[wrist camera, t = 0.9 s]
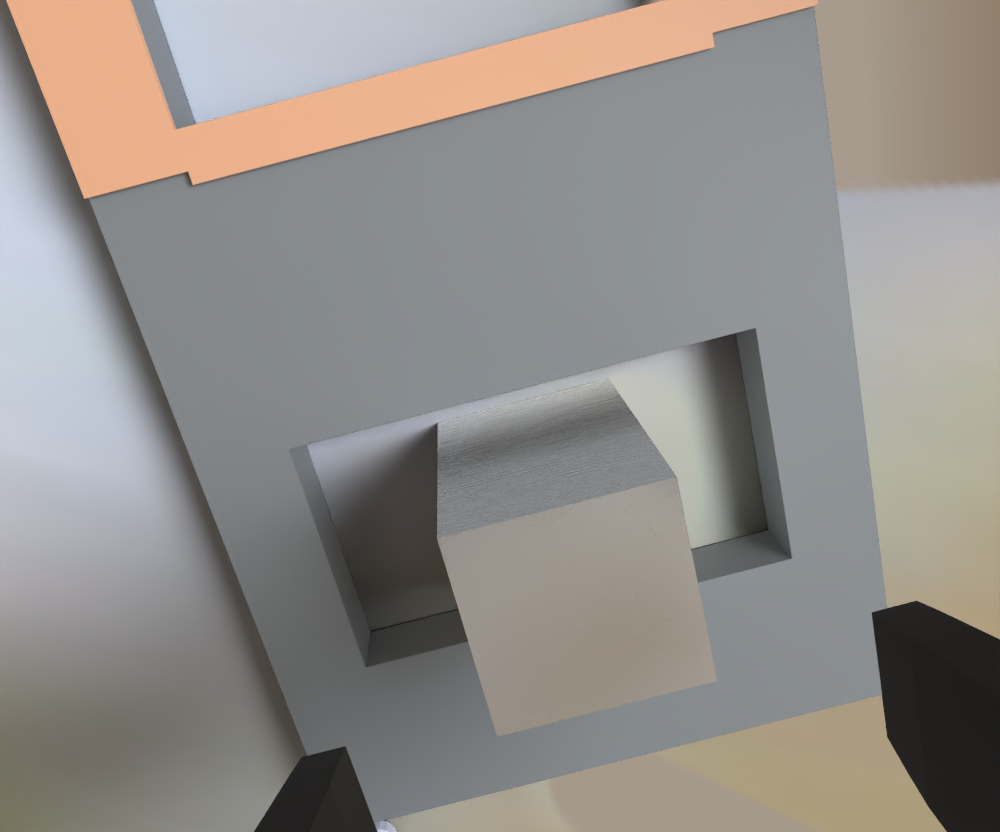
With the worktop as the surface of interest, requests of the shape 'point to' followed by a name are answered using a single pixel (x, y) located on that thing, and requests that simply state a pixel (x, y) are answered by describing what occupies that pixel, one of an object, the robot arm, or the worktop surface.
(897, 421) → the worktop surface
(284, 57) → the worktop surface
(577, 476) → the block
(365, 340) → the rail plate
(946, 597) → the worktop surface
